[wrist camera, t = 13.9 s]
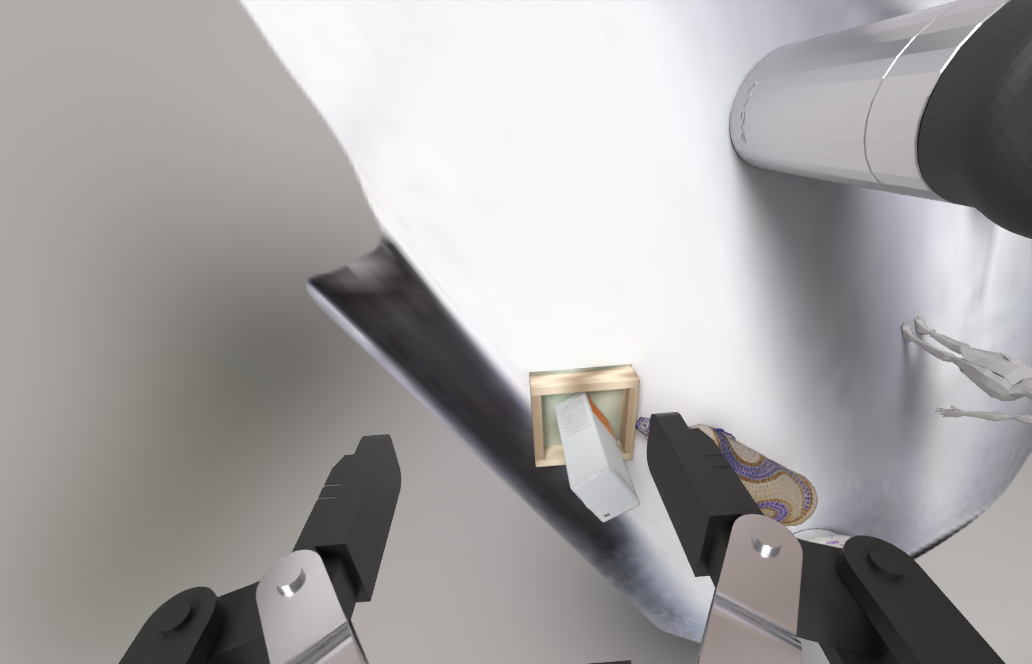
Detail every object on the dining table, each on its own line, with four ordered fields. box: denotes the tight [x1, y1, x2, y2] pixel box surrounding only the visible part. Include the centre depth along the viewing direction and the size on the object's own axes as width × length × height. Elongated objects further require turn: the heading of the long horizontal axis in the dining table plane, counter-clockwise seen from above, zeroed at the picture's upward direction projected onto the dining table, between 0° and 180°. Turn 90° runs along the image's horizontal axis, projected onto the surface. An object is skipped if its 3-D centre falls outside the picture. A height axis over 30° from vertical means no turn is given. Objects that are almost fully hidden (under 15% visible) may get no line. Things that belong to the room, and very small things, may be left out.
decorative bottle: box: [635, 417, 818, 526], centre depth 48 cm, size 26×8×7 cm, turn 58°
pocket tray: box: [529, 364, 640, 467], centre depth 46 cm, size 12×12×3 cm
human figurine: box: [901, 317, 1032, 424], centre depth 36 cm, size 12×4×18 cm, turn 122°
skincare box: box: [555, 392, 640, 522], centre depth 41 cm, size 6×4×12 cm
